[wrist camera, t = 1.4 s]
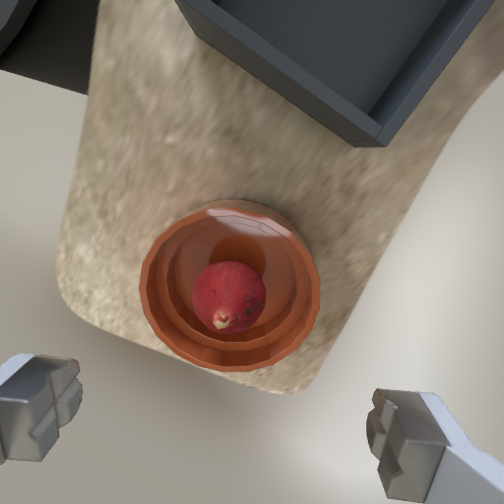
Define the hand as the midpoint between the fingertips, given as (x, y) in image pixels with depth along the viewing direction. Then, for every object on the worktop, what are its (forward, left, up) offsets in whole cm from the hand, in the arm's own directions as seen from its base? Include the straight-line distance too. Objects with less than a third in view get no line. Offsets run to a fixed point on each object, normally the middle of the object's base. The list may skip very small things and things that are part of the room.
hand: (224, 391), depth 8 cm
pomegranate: (+1, -5, -19) cm, 20 cm away
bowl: (+1, -5, -19) cm, 20 cm away
